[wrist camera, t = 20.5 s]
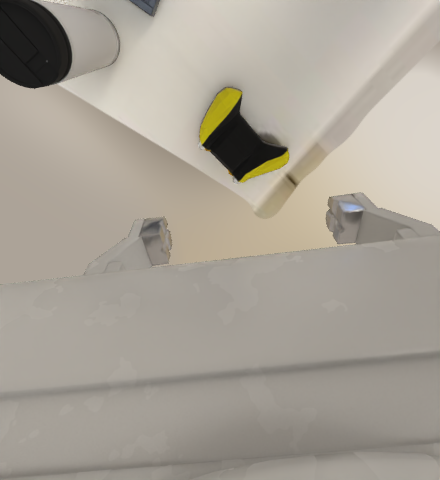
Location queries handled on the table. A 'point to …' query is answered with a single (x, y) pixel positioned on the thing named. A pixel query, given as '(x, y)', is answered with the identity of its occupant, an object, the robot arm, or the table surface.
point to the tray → (147, 5)
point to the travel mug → (53, 42)
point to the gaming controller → (237, 139)
